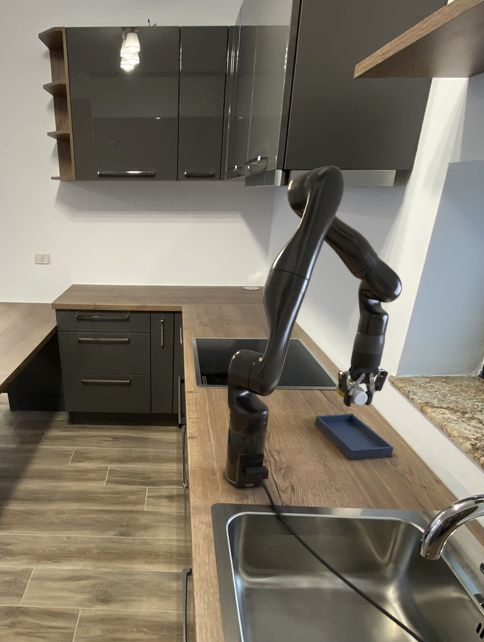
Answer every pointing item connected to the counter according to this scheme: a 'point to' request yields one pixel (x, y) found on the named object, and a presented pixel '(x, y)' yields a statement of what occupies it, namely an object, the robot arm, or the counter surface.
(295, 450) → the counter surface
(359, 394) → the supplement bottle
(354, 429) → the tray
